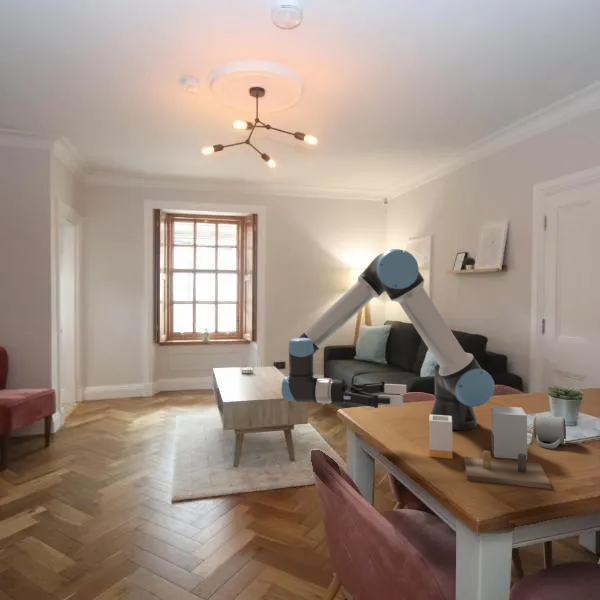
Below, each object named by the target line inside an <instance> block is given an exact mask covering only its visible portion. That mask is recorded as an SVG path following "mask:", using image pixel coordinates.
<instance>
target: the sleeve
mask: <svg viewBox="0 0 600 600" xmlns="http://www.w3.org/2000/svg"><path fill="white" fill-rule="evenodd" d="M428 416H429V417H428V429H429V430H428V431H429V432H428V434H429V436H428V438H429V439H428V440H429V441H428V442H429V445H428V446H429V457H431V458H433V457H434V458H440V459H441V458H442V459H453V430H452V416H445V415H430V414H429V415H428Z"/></svg>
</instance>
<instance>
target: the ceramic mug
mask: <svg viewBox="0 0 600 600" xmlns="http://www.w3.org/2000/svg"><path fill="white" fill-rule="evenodd" d="M532 422H533V424H532V432H533V437H534V440H536V442H537V445H539V446H540V447H541V448H545V449H555V448H557V447H558V446H559V445H564V446H565V445H566V443H564V439H566V440H567V425H566V423H567V422H566V419H565V417H564V416H546V415H545V416H543V415H539V416H535V417H534V418H533V421H532ZM544 442H545V443H544Z"/></svg>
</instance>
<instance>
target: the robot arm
mask: <svg viewBox="0 0 600 600" xmlns="http://www.w3.org/2000/svg"><path fill="white" fill-rule="evenodd" d="M419 270H420V269H419V263H418V261H417V259H416V258H415V256H414V255H413V254H412V253H410V252H409V251H408V250H404V249H399V248H393V249H389V250H386V251H385V252H383V253H380V254H378V255H377V256H376V257H374V259H373V260H372V261H371V262H370V264H369V265H368V266H367V267H366V268H365V269H364V271H363V272H361V274H359V276H358V277H357V281H356V282H355V283H354V284H353V285H352V286H351V287H350V288H349V289H348V290H347V291H346V292H345V293H344V294H343V295H342V296H340V298H339V299H338V300H336V302H334V303H333V305H331V306H330V307H329V308H328V309H327V310H326V311H325V312H324V313H323V314H322V315H321V316H319V318H317V320H315V322H314V323H312V324H311V325H310V326H309V327H308V328H307V329H306V330H304V332H303V333H302V334H301V335H299V337H295V338H291V339H289V341H288V365H289V368H288V370H289V374H288V376H285V377H284V378H283V380H282V381H281V395H282V398H283V399H284V400H285V401H289V402H295V403H315V404H317V403H319V404H321V405H323V406H325V404H329V405H330V404H331V403H332V404H333V405H345V404H346V403H352V404H358V405H362V406H368V407H370V408H376V409H377V408H379V406H391V407H392V406H393V407H404V396H403V395H407V384H398V383H397V384H395V383H393V384H392V383H385V382H386V381H385V380H381V381H378V382H377V381H376V382H359V383H358V382H356V383H355V382H352V383H351V385H348V384H347V383H348V382H347V380H346V379H345V378H333V379H332V378H331V377H315V376H314V375H315V374H314V355H315V354H316V353H317V352H318V350H320V349H321V348H322V347H323V346H324V345H325V344H326V343H327V342H328V341H329V340H331V338H333V336H335V334H337V333H338V331H340V330H341V329H342V328H343V327H344V326H345V325H346V324H347V323H348V322H349V321H350V320H351V319H352V318H353V317H355V316H356V315H357V314H358V313H359V312H360V311H361V310H362V309H363V308H364V307H365V306H366V305H368V303H369V302H370V301H371V300H372V299H375V298H379V297H380V296H381V295H382V294H383V293H386V295H387V296H388V298H389V299H390V301H393V302H397V303H398V304H399V306H400V307H401V308H402V309H403V311H404V313H405V315H406V316H407V318H408V319H409V321H410V322H411V324H412V325H413V327H414V328H415V330H416V332H417V333H418V335H419V336H420V338H421V340H422V341H423V343H424V344H425V345H426V347H427V348H428V351H430V353H431V355H432V356H433V358H434V365H433V367H434V368H433V369H434V402H433V405H432V407H431V408H432V409H431V410H430V414H429V416H430V415H445V416H452V431H466V430H467V431H468V430H472V429H475V428H477V426H478V418H477V415H476V413H475V410H474V408H476V407H482V406H484V405H485V404H486V403H488V402H489V401H490V400H491V398H492V397H493V396H494V392H495V381H494V379H493V377H492V375H491V374H490V373H489V372H488V371H487V370H485V369H484V368H482V367H481V365H480V364H479V362H478V361H477V359H476V358H475V356H474V355H473V353H469V352H466V351H465V350H464V348H463V347H462V346H461V344H460V342H459V341H458V340H457V338H456V336H455V335H454V334H453V333H454V332H452V330H451V328H450V326H448V324H447V322H446V321H445V320H444V318H443V316H442V315H441V313H440V311H439V310H438V309H437V307H436V305H435V304H434V302H433V301H432V299H431V297H430V296H429V294H428V293H427V292H426V290H425V288H424V285H425V278H423V276H422V274H421V272H420V271H419ZM379 393H384V394H379ZM377 394H378V395H377Z"/></svg>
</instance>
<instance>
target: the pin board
mask: <svg viewBox="0 0 600 600" xmlns="http://www.w3.org/2000/svg"><path fill="white" fill-rule="evenodd" d="M491 453H492V452H491V451H490V450H483V451H482V457H472V456H463V457H464V460H463V461H464V467H465V474H466V480H467V481H473V482H480V481H481V482H482V483H489V482H491V483H492V484H499V483H500V484H499V485H510V486H517V485H518V487H519V486H520V487H528V488H537V489H546V490H547V489H548V490H551V489H552V483H551V481H550V479H549V477H548V476H547V475H546V473H545V470H544V469H543V467H542V465H541V463H537V462H528V461H527V460H526V455H525V454H521V453H520V454H518V459H517V460H515V461H514V460H505V459H504V460H503V459H494V458H492V455H491ZM481 482H480V483H481Z"/></svg>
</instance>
